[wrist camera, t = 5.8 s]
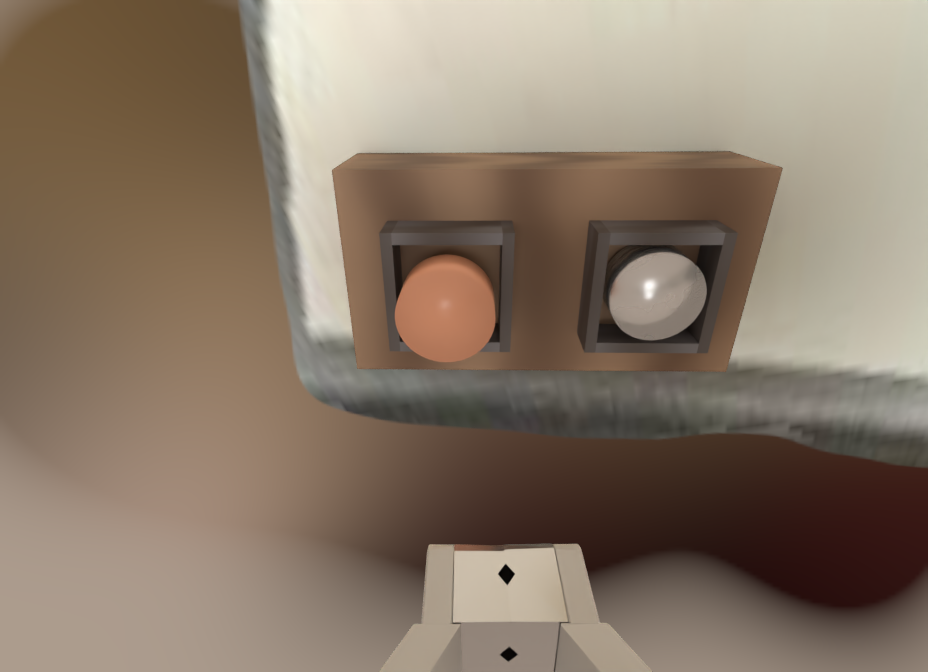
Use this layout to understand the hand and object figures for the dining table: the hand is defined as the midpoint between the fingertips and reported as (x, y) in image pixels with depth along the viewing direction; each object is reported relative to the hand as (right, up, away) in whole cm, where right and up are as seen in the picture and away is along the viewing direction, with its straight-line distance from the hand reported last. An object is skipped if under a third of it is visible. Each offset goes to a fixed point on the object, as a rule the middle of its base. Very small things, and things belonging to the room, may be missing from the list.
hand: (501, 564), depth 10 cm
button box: (+3, +10, +18) cm, 20 cm away
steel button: (+8, +7, +13) cm, 17 cm away
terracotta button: (-1, +6, +11) cm, 13 cm away
